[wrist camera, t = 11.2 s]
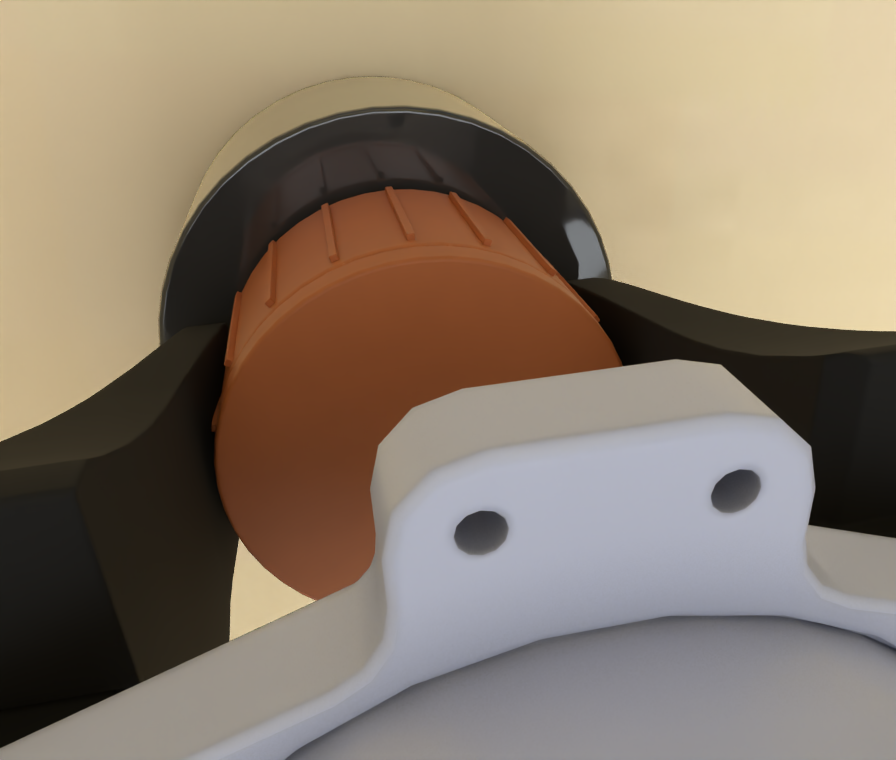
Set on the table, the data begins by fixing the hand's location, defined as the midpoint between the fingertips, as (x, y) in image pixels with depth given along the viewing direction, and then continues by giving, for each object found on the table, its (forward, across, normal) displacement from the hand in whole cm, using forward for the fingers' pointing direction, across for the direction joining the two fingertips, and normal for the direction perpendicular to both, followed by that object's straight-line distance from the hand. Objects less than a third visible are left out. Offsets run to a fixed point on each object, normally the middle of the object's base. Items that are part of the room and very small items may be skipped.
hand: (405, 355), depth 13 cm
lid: (0, 0, 0) cm, 0 cm away
